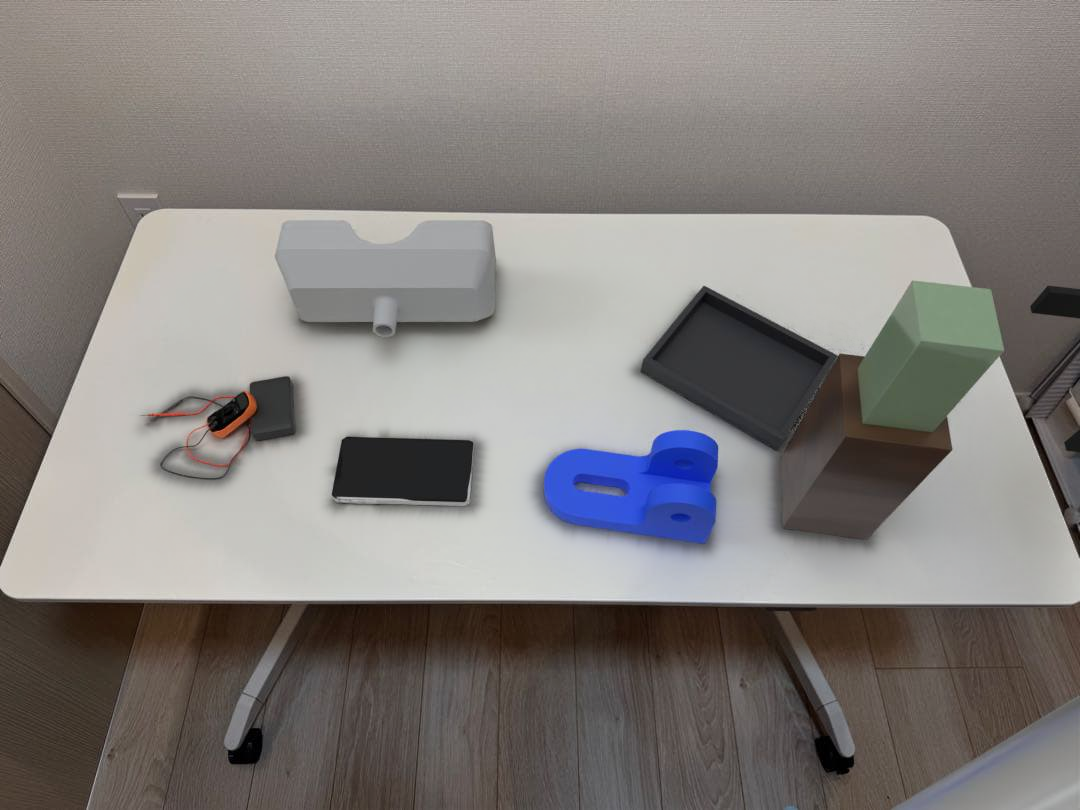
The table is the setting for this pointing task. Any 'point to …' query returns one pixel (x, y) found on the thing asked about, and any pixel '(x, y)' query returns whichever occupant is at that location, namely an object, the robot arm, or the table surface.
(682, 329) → the tray
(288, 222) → the tank
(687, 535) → the bracket
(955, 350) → the green block
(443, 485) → the smartphone
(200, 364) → the table surface
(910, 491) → the stand
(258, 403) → the multimeter
